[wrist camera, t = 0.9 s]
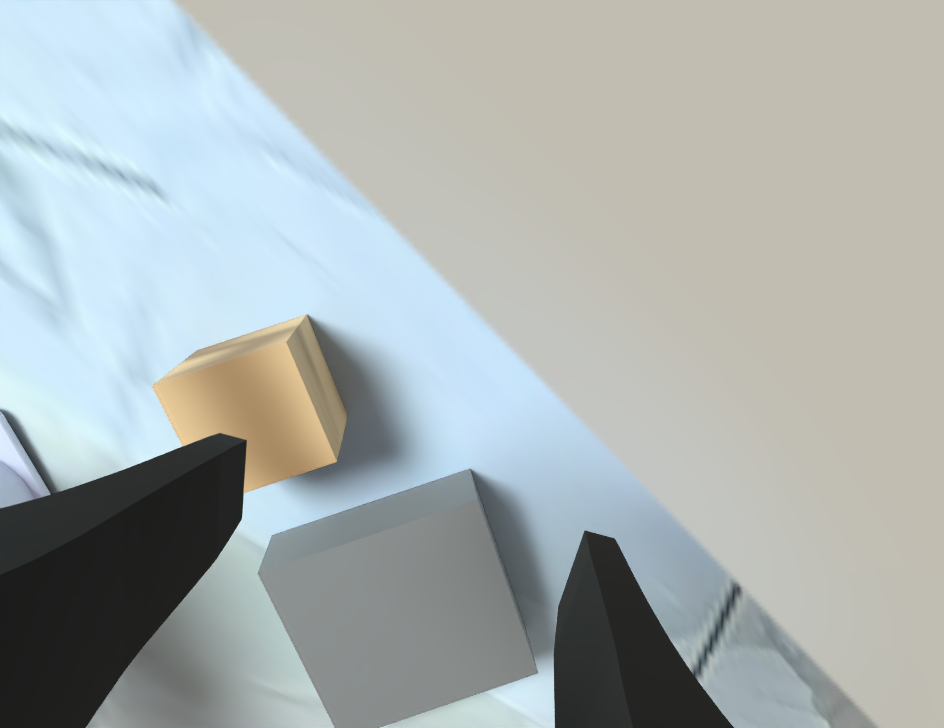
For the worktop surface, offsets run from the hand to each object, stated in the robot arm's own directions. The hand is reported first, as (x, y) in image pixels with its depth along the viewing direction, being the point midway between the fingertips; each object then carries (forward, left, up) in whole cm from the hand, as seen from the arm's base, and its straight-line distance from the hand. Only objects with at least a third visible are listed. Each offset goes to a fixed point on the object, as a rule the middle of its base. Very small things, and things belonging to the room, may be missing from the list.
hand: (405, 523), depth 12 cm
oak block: (-6, 0, -15) cm, 17 cm away
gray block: (-4, -12, -15) cm, 20 cm away
